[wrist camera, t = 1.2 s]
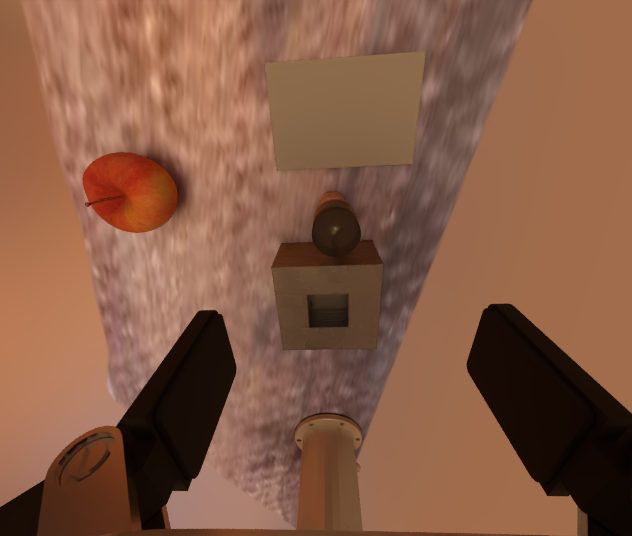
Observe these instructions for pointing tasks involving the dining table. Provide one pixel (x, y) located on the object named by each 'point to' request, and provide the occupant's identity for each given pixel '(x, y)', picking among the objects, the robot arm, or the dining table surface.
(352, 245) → the brown beige cylinder
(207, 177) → the dining table surface
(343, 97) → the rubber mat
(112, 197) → the apple
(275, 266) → the block
